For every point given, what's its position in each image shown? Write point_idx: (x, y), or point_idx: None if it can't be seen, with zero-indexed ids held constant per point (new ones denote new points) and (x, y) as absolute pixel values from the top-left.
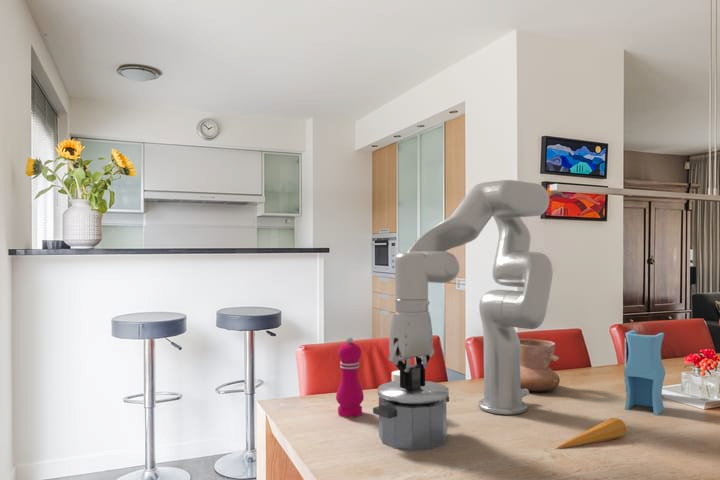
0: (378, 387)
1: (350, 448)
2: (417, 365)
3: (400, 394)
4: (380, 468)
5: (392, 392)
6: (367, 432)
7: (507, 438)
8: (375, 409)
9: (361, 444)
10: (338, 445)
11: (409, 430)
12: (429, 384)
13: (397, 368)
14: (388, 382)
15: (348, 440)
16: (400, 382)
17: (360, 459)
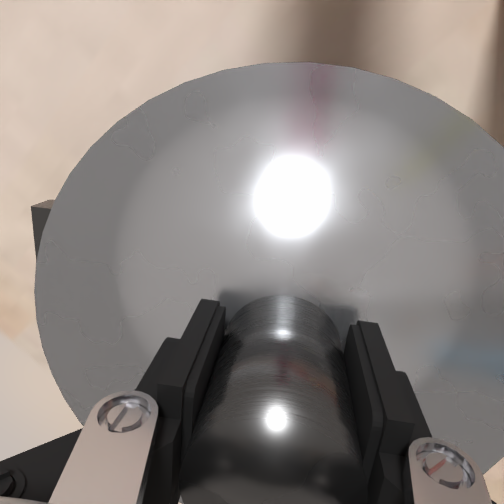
0: (120, 121)
1: (34, 132)
2: (377, 497)
3: (117, 360)
4: (22, 315)
5: (110, 295)
6: (199, 44)
7: (497, 468)
8: (35, 226)
9: (90, 134)
10: (12, 71)
11: None
12: (473, 369)
13: (96, 405)
14: (307, 67)
15: (74, 57)
16: (164, 343)
17: (10, 230)
